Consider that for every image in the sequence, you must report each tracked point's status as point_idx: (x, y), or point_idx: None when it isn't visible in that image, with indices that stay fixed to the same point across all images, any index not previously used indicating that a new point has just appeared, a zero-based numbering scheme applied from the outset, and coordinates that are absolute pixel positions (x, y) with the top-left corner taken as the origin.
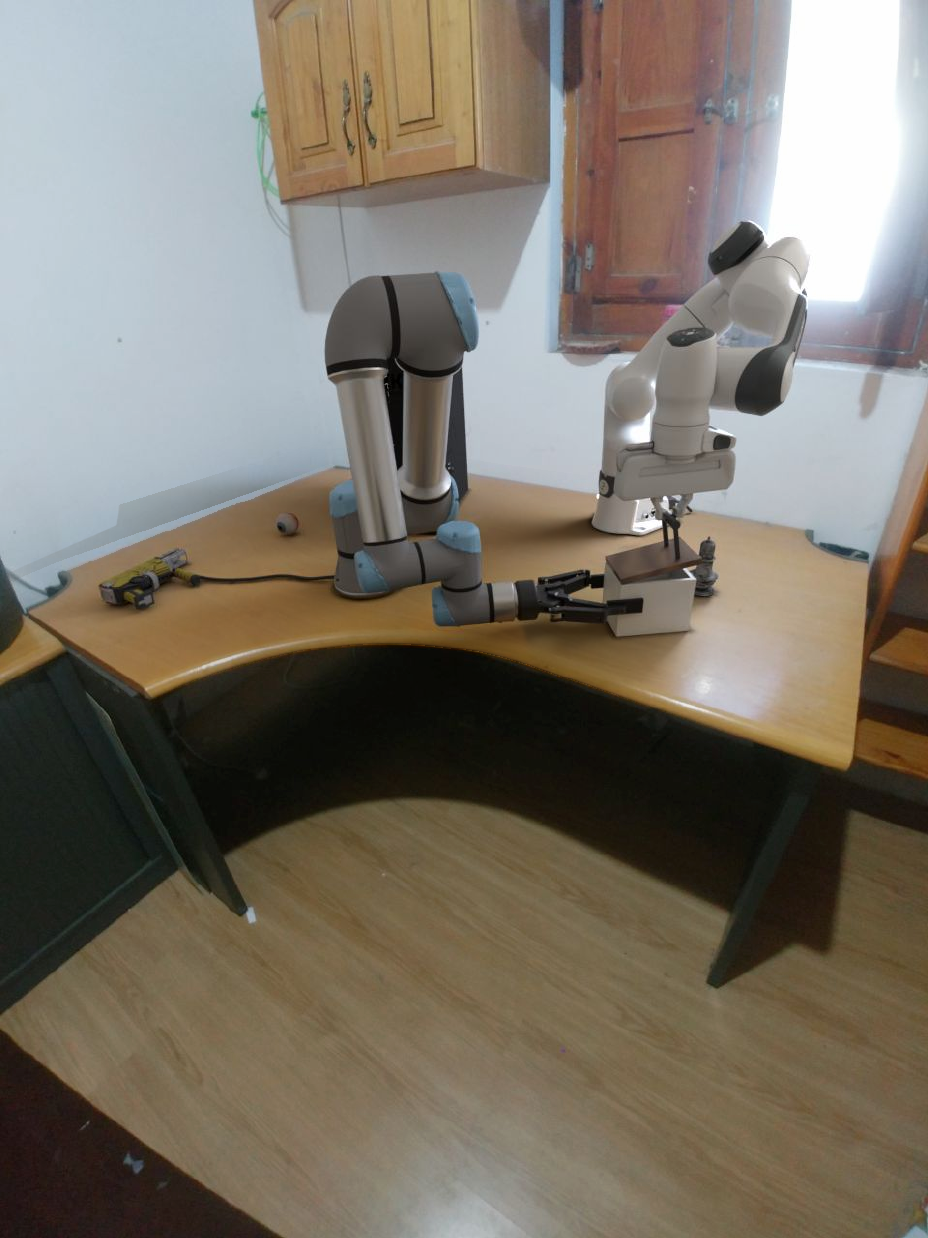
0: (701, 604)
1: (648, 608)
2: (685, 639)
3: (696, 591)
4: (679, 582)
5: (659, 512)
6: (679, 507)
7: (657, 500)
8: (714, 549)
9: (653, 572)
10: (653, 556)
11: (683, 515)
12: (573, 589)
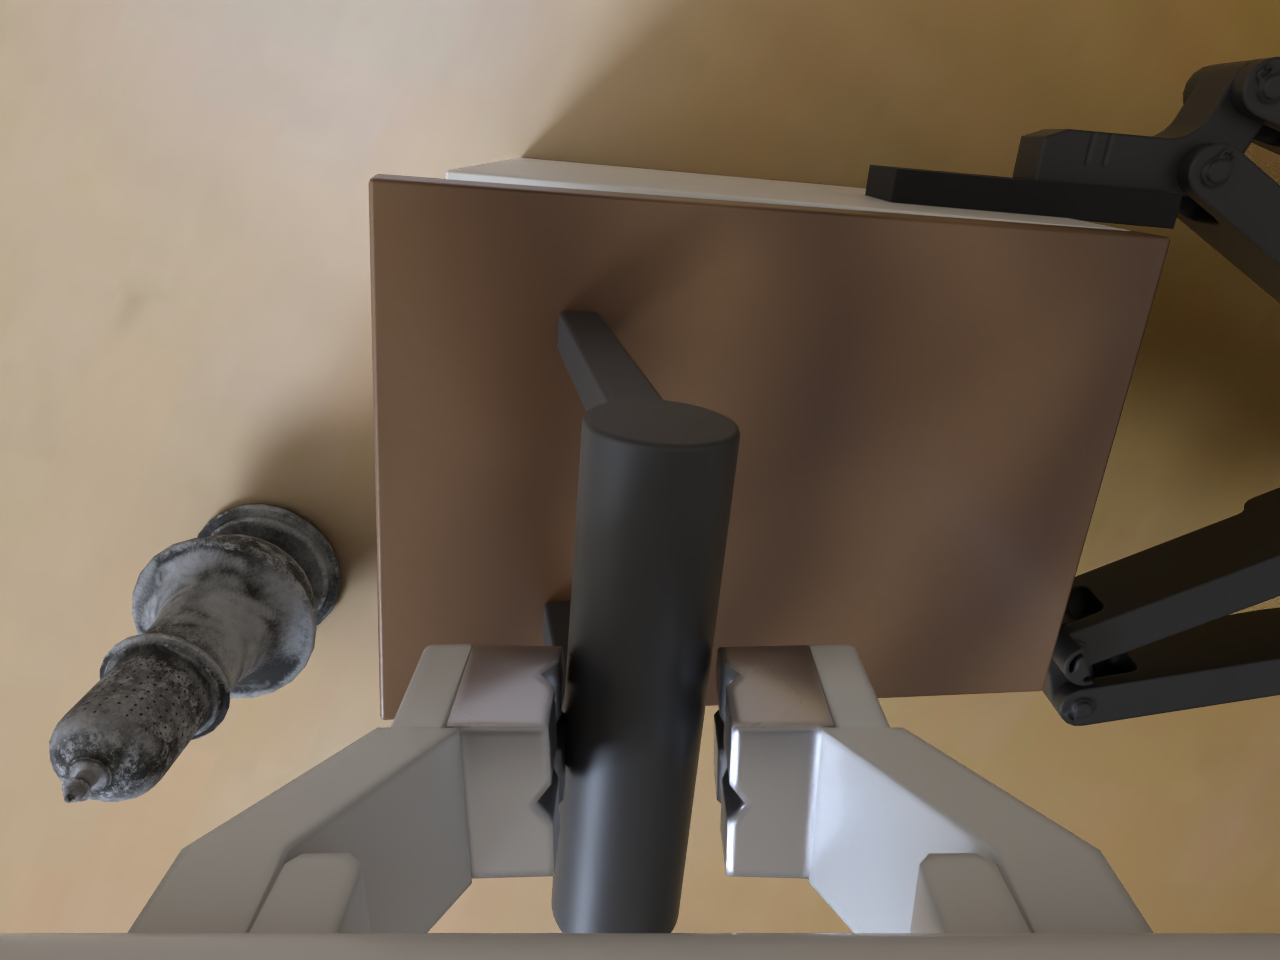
0: (322, 429)
1: (814, 191)
2: (579, 63)
3: (302, 546)
4: (601, 183)
5: (881, 727)
6: (465, 796)
7: (1077, 900)
8: (81, 699)
9: (875, 214)
10: (750, 483)
11: (432, 652)
12: (1181, 551)
